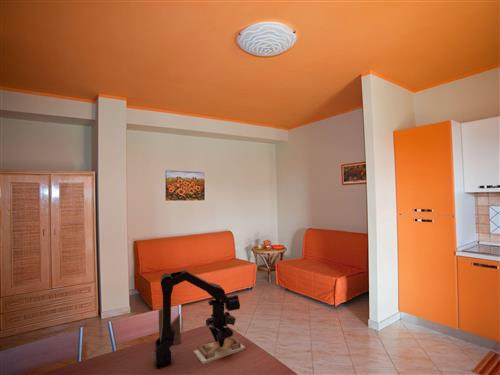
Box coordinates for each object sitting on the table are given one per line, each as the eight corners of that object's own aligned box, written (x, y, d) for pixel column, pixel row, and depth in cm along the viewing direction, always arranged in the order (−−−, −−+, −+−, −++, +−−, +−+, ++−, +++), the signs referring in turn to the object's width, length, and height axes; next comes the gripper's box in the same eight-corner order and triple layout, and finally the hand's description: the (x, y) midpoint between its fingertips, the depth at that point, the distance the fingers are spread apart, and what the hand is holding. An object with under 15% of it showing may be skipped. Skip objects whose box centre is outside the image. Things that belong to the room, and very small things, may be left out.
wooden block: (179, 344, 149) (179, 308, 150) (158, 345, 148) (157, 310, 148) (180, 340, 153) (179, 305, 153) (159, 342, 152) (158, 307, 152)
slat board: (202, 364, 131) (202, 357, 131) (193, 352, 141) (193, 346, 141) (244, 349, 143) (244, 342, 143) (234, 339, 152) (234, 333, 152)
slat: (206, 354, 137) (206, 348, 137) (204, 350, 141) (204, 344, 141) (234, 347, 143) (234, 340, 143) (231, 343, 146) (231, 337, 146)
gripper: (242, 315, 138) (243, 348, 138) (224, 302, 154) (225, 332, 154) (221, 321, 132) (222, 355, 132) (205, 307, 148) (205, 338, 148)
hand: (219, 344), depth 142 cm, fingers open, 4 cm apart
